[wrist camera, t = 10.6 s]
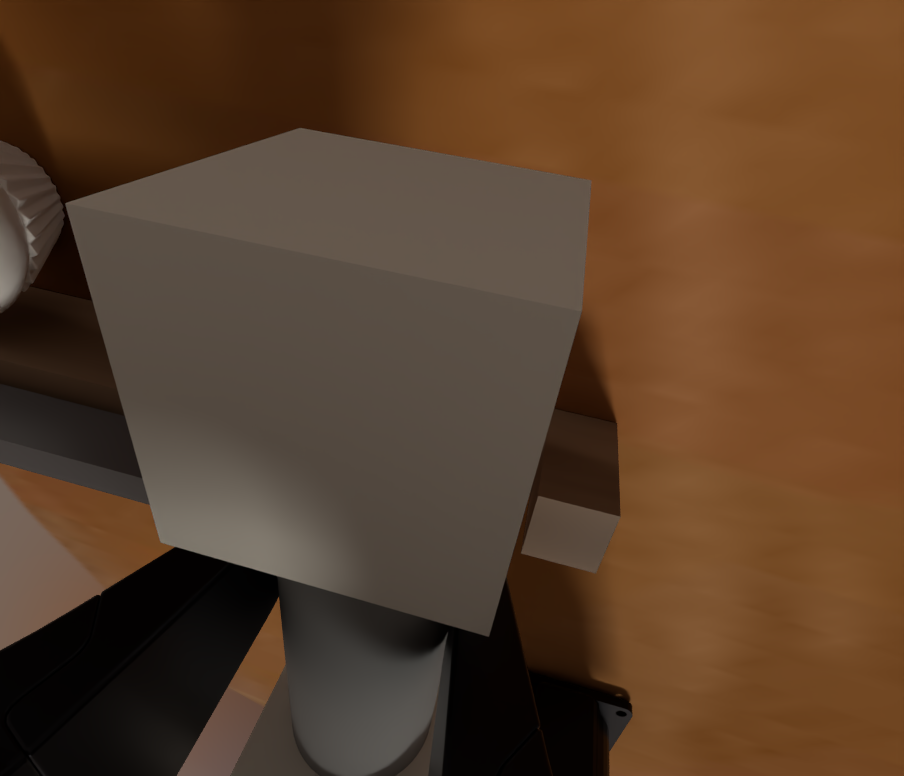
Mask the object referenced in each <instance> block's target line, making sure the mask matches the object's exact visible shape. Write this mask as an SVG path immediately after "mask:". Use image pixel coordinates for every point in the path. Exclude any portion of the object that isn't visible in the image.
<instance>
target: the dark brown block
mask: <svg viewBox="0 0 904 776" xmlns="http://www.w3.org/2000/svg"><path fill="white" fill-rule="evenodd" d="M0 384H3V385H7V386H11V387H15V388H19V389H22V390H26V391H30V392H34V393H38V394H42V395H46V396H49V397H53V398H57V399H61V400H65V401H69V402H73V403H76V404H80V405H84V406H88V407H92V408H96V409H99V410H103V411H107V412H111V413H115V414H119V415H123V416H125V414H124V411H123V407H122V404H121V400H120V397H119V393H118V390H117V386H116V382H115V379H114V375H113V372H112V368H111V365H110V361H109V358H108V354H107V351H106V347H105V343H104V340H103V336H102V333H101V329H100V326H99V322H98V319H97V315H96V311H95V308H94V304H93V301H90V300H86V299H82V298H78V297H73V296H69V295H65V294H60V293H56V292H52V291H47V290H43V289H39V288H35V287H30V286H29V288H28V289H27V290H26V291H25V292H23V291H21V293H20V295H19V297H18V298H17V300H16V301H15V302H14V303H13V304H12V305H11V306H10V307H9V308H8V309H6V310H5V311H4V312H2V313H0ZM619 519H620V491H619V464H618V437H617V423H613V422H609V421H605V420H601V419H596V418H592V417H588V416H583V415H579V414H575V413H571V412H566V411H562V410H558V409H554V410H553V414H552V418H551V421H550V425H549V428H548V432H547V435H546V439H545V442H544V446H543V449H542V453H541V456H540V460H539V463H538V467H537V470H536V474H535V477H534V481H533V484H532V488H531V492H530V499H529V505H528V512H527V518H526V524H525V531H524V537H523V544H522V550H521V554H525V555H529V556H533V557H536V558H540V559H544V560H548V561H551V562H555V563H559V564H563V565H566V566H570V567H574V568H578V569H581V570H585V571H589V572H592V573H596V572H597V570H598V567H599V565H600V563H601V560H602V558H603V556H604V553H605V551H606V549H607V547H608V544H609V542H610V540H611V537H612V535H613V533H614V530H615V528H616V526H617V524H618V521H619Z"/></svg>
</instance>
